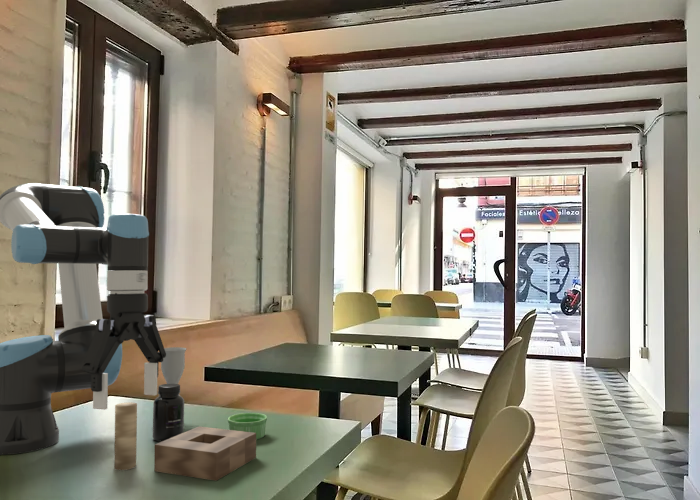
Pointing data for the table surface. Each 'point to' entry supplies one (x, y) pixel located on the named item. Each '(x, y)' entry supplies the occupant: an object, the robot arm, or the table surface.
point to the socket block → (205, 452)
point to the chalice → (173, 364)
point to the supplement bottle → (168, 412)
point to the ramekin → (248, 423)
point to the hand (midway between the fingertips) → (126, 401)
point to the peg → (125, 436)
